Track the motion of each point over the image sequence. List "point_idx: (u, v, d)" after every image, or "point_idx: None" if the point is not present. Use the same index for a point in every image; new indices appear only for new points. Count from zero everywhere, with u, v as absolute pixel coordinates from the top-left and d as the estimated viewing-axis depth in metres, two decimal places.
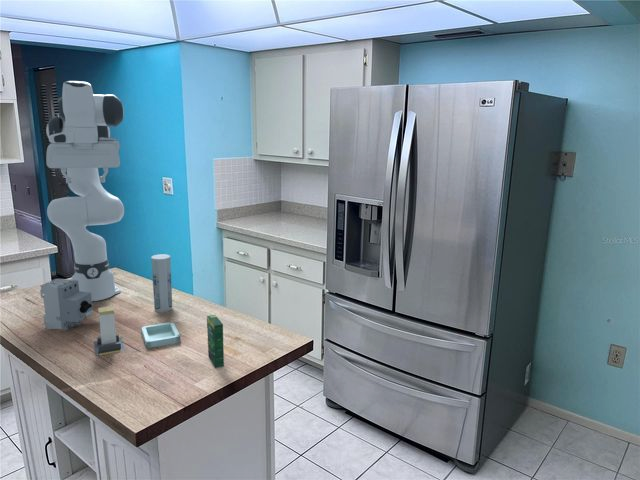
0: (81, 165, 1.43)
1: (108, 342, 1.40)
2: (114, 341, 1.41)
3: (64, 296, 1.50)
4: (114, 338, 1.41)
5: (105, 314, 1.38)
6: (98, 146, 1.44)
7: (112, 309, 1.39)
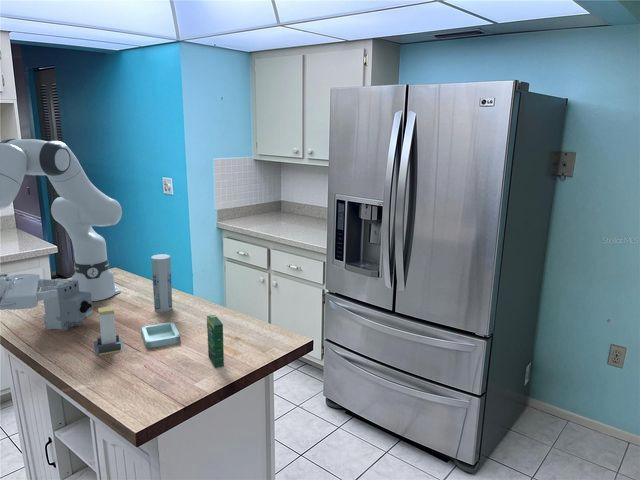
0: None
1: (108, 342, 1.40)
2: (114, 341, 1.41)
3: (64, 296, 1.50)
4: (114, 338, 1.41)
5: (105, 314, 1.38)
6: None
7: (112, 309, 1.39)
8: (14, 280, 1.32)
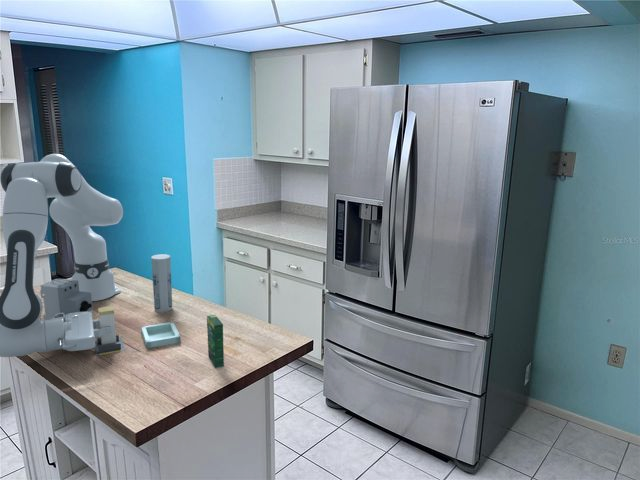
0: None
1: (108, 342, 1.40)
2: (114, 341, 1.41)
3: (64, 296, 1.50)
4: (114, 338, 1.41)
5: (105, 314, 1.38)
6: None
7: (112, 309, 1.39)
8: (70, 319, 1.40)
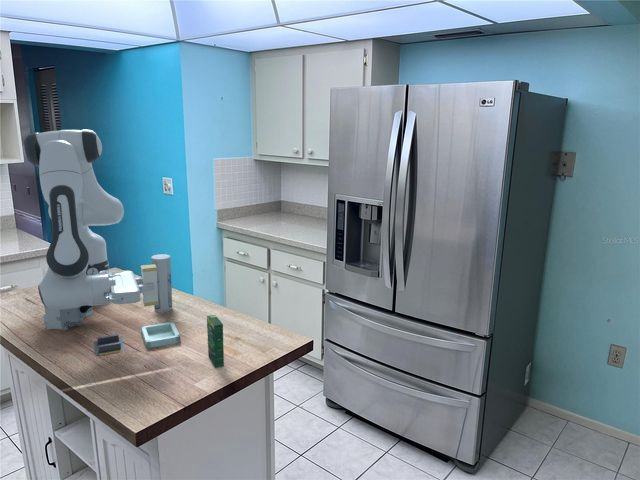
0: None
1: (150, 299, 1.43)
2: (156, 298, 1.44)
3: None
4: (156, 295, 1.44)
5: (148, 271, 1.41)
6: None
7: (154, 266, 1.42)
8: (114, 276, 1.43)
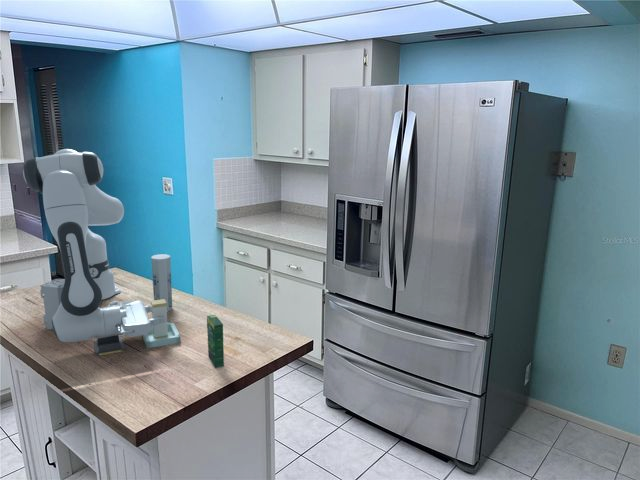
0: None
1: (160, 333, 1.47)
2: (166, 332, 1.48)
3: None
4: (166, 329, 1.48)
5: (158, 306, 1.45)
6: None
7: (164, 302, 1.46)
8: (124, 307, 1.46)
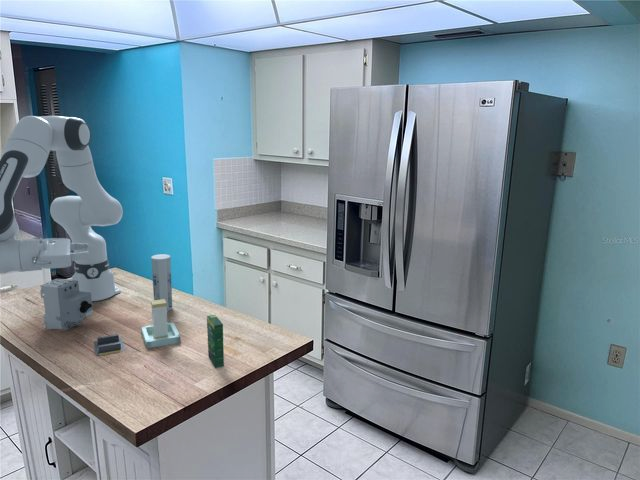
0: None
1: (160, 333, 1.47)
2: (166, 332, 1.48)
3: (64, 296, 1.50)
4: (166, 329, 1.48)
5: (158, 306, 1.45)
6: None
7: (164, 302, 1.46)
8: (47, 243, 1.36)
